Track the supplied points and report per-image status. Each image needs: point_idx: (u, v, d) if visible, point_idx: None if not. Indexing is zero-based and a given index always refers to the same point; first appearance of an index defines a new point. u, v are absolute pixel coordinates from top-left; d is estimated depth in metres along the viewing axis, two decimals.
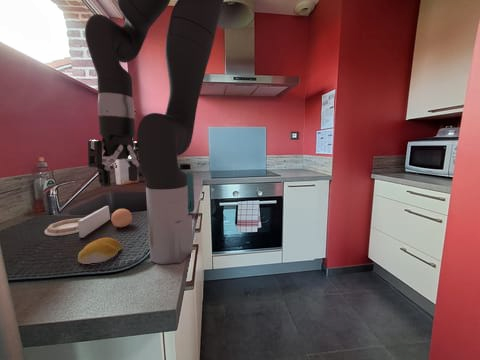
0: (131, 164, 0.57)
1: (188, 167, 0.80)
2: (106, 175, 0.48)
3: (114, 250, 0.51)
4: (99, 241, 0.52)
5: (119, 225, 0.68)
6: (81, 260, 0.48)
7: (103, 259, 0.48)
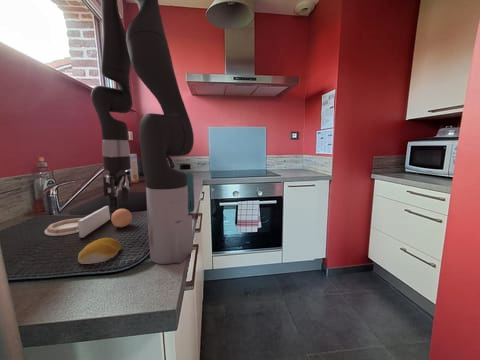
0: None
1: (188, 167, 0.80)
2: None
3: (115, 250, 0.51)
4: (99, 241, 0.52)
5: (119, 225, 0.68)
6: (81, 260, 0.48)
7: (103, 259, 0.48)
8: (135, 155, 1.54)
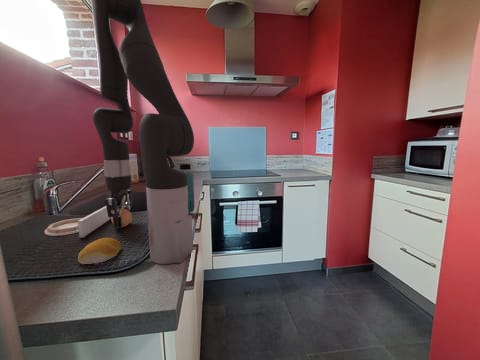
0: None
1: (188, 167, 0.80)
2: None
3: (115, 250, 0.51)
4: (99, 241, 0.52)
5: None
6: (81, 260, 0.48)
7: (103, 259, 0.48)
8: (135, 155, 1.54)
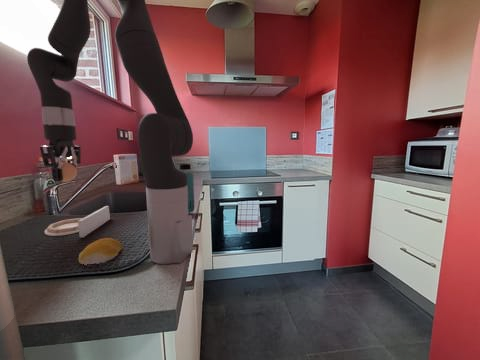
0: None
1: (188, 167, 0.80)
2: None
3: (115, 251, 0.51)
4: (100, 241, 0.52)
5: None
6: (81, 261, 0.48)
7: (104, 260, 0.48)
8: (135, 155, 1.54)
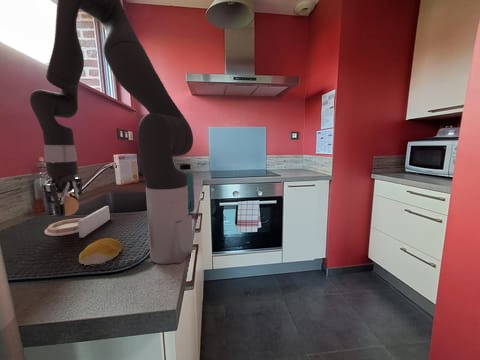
0: None
1: (188, 167, 0.80)
2: None
3: (116, 251, 0.51)
4: (100, 242, 0.52)
5: None
6: (82, 261, 0.47)
7: (104, 260, 0.48)
8: (135, 155, 1.54)
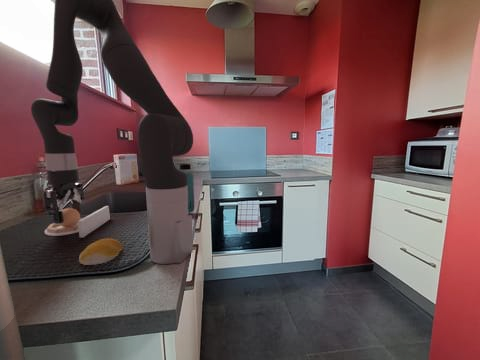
0: None
1: (188, 167, 0.80)
2: None
3: (116, 251, 0.51)
4: (100, 242, 0.52)
5: (64, 225, 0.66)
6: (82, 261, 0.47)
7: (105, 260, 0.48)
8: (135, 155, 1.54)
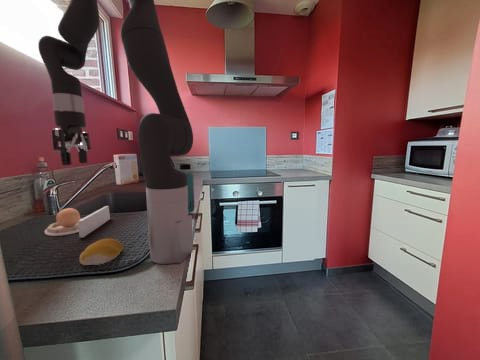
0: None
1: (188, 167, 0.80)
2: None
3: (116, 251, 0.50)
4: (101, 242, 0.52)
5: (64, 225, 0.66)
6: (82, 261, 0.47)
7: (105, 260, 0.48)
8: (135, 155, 1.54)
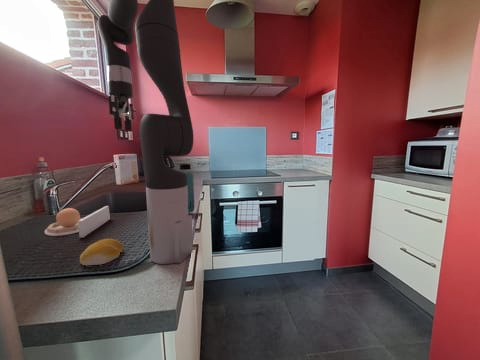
0: None
1: (188, 167, 0.80)
2: None
3: (117, 252, 0.50)
4: (101, 242, 0.52)
5: (64, 225, 0.66)
6: (83, 262, 0.47)
7: (105, 261, 0.48)
8: (135, 155, 1.54)
